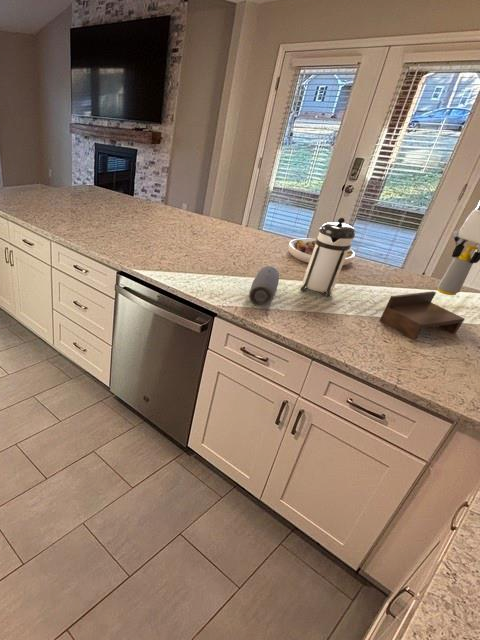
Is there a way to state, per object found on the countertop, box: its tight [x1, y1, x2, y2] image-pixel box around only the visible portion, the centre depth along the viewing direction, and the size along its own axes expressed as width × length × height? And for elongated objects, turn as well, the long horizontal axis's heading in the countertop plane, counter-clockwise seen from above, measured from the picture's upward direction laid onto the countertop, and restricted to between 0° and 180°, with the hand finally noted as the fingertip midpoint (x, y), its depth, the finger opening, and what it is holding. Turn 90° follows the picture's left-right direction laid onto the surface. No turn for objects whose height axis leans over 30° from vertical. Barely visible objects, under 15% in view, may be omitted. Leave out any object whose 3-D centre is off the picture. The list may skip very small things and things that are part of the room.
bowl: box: [287, 238, 356, 266], centre depth 205 cm, size 30×30×8 cm
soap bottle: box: [437, 244, 478, 296], centre depth 150 cm, size 7×7×18 cm
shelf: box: [379, 290, 465, 341], centre depth 147 cm, size 14×20×10 cm
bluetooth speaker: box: [248, 265, 280, 308], centre depth 162 cm, size 23×9×10 cm, turn 154°
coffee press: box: [299, 217, 356, 298], centre depth 166 cm, size 17×16×30 cm
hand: (464, 259), depth 148 cm, fingers closed on soap bottle, 5 cm apart
